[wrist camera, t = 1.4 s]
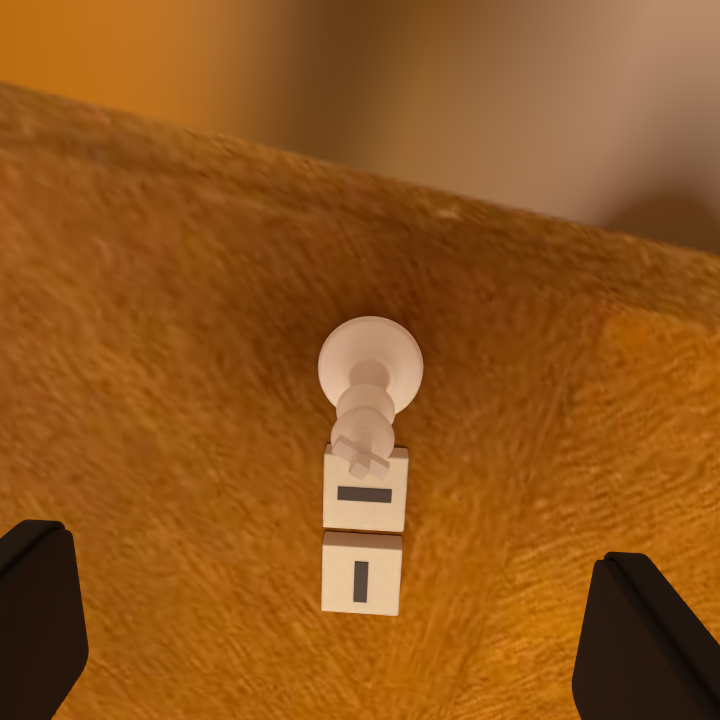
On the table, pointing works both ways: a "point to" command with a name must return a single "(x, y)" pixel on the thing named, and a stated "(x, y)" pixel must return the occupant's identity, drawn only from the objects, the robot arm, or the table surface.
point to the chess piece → (368, 389)
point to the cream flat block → (363, 537)
